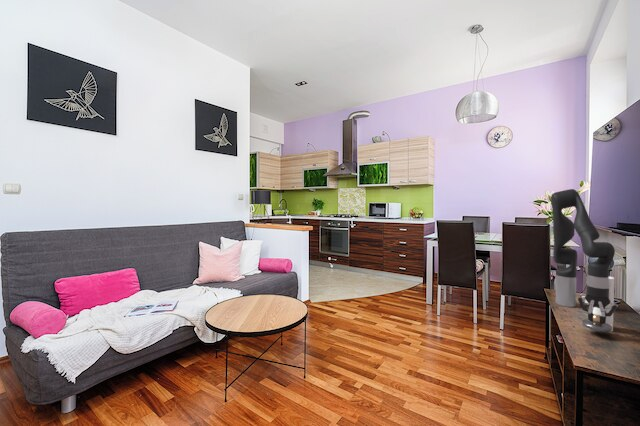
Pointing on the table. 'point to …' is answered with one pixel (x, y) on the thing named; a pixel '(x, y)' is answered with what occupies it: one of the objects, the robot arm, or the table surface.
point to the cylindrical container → (611, 297)
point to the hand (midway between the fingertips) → (596, 322)
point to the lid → (596, 324)
